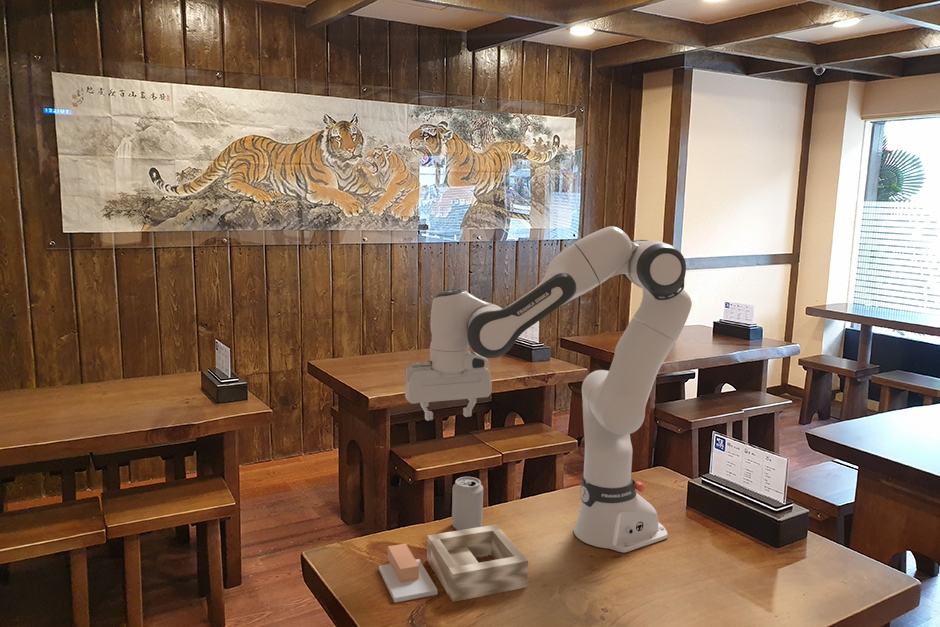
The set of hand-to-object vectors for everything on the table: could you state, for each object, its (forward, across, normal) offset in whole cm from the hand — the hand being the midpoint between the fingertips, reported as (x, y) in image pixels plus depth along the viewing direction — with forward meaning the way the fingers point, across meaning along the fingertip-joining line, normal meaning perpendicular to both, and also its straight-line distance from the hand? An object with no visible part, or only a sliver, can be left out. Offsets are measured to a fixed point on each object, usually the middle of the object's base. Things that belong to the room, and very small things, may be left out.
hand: (448, 417), depth 165 cm
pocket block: (+29, 0, -18) cm, 34 cm away
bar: (+28, -14, -13) cm, 34 cm away
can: (+29, +6, +2) cm, 30 cm away
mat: (+29, -14, -17) cm, 37 cm away
